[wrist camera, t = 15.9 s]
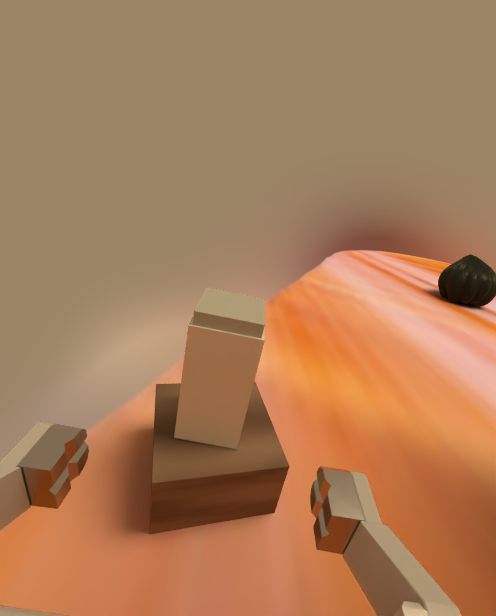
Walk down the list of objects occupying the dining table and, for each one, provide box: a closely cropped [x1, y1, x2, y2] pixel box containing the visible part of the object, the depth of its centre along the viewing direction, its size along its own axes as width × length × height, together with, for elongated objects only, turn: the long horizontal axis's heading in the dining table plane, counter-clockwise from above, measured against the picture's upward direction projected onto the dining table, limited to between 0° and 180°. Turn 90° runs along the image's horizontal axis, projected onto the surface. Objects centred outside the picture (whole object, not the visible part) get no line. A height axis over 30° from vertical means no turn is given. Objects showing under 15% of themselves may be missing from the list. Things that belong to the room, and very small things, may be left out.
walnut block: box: [150, 381, 289, 534], centre depth 27 cm, size 10×10×6 cm
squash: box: [438, 255, 496, 307], centre depth 91 cm, size 14×15×15 cm
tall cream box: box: [174, 287, 265, 449], centre depth 23 cm, size 5×5×11 cm
